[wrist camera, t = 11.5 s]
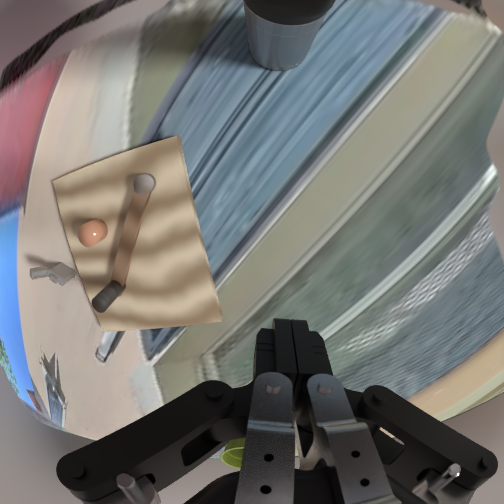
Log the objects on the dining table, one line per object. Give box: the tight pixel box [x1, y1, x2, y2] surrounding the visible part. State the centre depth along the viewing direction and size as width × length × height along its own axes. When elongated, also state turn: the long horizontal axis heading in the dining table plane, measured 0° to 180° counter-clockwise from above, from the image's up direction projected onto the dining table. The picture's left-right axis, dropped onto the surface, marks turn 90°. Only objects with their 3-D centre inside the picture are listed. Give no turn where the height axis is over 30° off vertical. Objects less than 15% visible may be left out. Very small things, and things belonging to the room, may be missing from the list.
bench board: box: [53, 136, 223, 332], centre depth 47 cm, size 32×26×2 cm
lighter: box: [30, 262, 75, 286], centre depth 46 cm, size 7×2×8 cm, turn 63°
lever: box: [91, 174, 156, 313], centre depth 40 cm, size 22×3×8 cm, turn 156°
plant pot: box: [220, 437, 246, 469], centre depth 57 cm, size 12×12×11 cm
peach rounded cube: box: [78, 218, 108, 247], centre depth 43 cm, size 4×4×4 cm
